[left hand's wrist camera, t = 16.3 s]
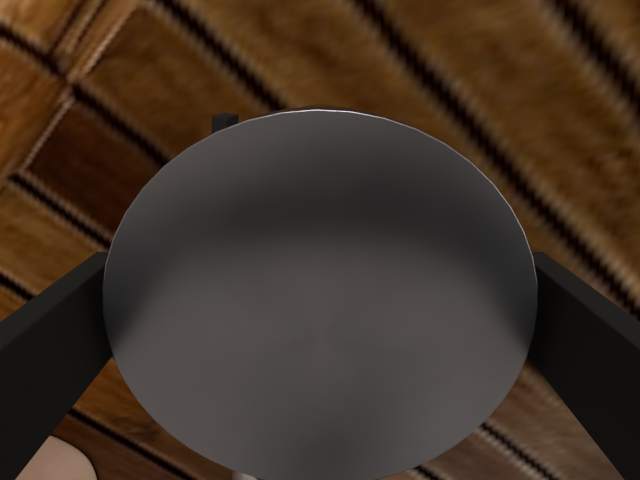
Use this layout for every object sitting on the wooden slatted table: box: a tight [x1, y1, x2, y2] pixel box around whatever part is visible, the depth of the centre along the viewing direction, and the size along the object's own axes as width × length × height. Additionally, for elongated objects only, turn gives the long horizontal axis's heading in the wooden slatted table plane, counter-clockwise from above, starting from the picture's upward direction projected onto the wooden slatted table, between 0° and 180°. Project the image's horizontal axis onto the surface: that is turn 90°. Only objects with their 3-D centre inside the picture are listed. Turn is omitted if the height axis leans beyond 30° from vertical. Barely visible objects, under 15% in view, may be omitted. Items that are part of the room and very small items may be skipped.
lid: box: [102, 106, 538, 480], centre depth 11 cm, size 11×11×2 cm
